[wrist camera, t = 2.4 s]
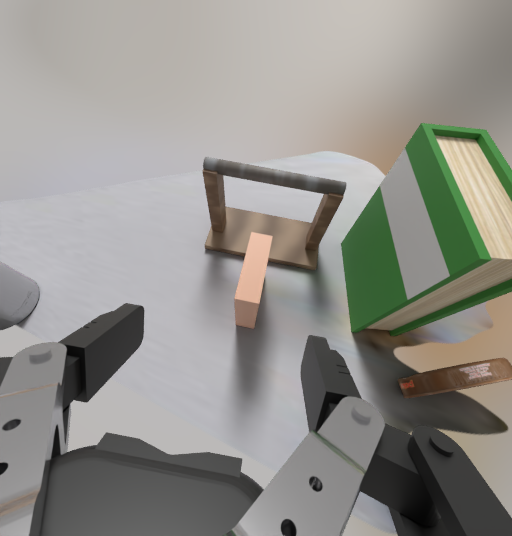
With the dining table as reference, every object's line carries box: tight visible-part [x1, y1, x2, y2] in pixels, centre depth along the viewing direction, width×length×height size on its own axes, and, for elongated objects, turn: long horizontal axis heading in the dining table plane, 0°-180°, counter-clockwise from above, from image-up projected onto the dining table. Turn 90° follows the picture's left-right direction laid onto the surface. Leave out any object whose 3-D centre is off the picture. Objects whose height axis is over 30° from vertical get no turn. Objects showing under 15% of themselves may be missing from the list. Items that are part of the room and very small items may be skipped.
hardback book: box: [341, 123, 512, 336], centre depth 33 cm, size 18×7×24 cm, turn 176°
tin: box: [398, 358, 512, 398], centre depth 33 cm, size 15×3×8 cm, turn 99°
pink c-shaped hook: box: [234, 232, 273, 329], centre depth 36 cm, size 3×10×12 cm, turn 169°
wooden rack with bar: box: [203, 157, 346, 270], centre depth 40 cm, size 21×10×16 cm, turn 79°
